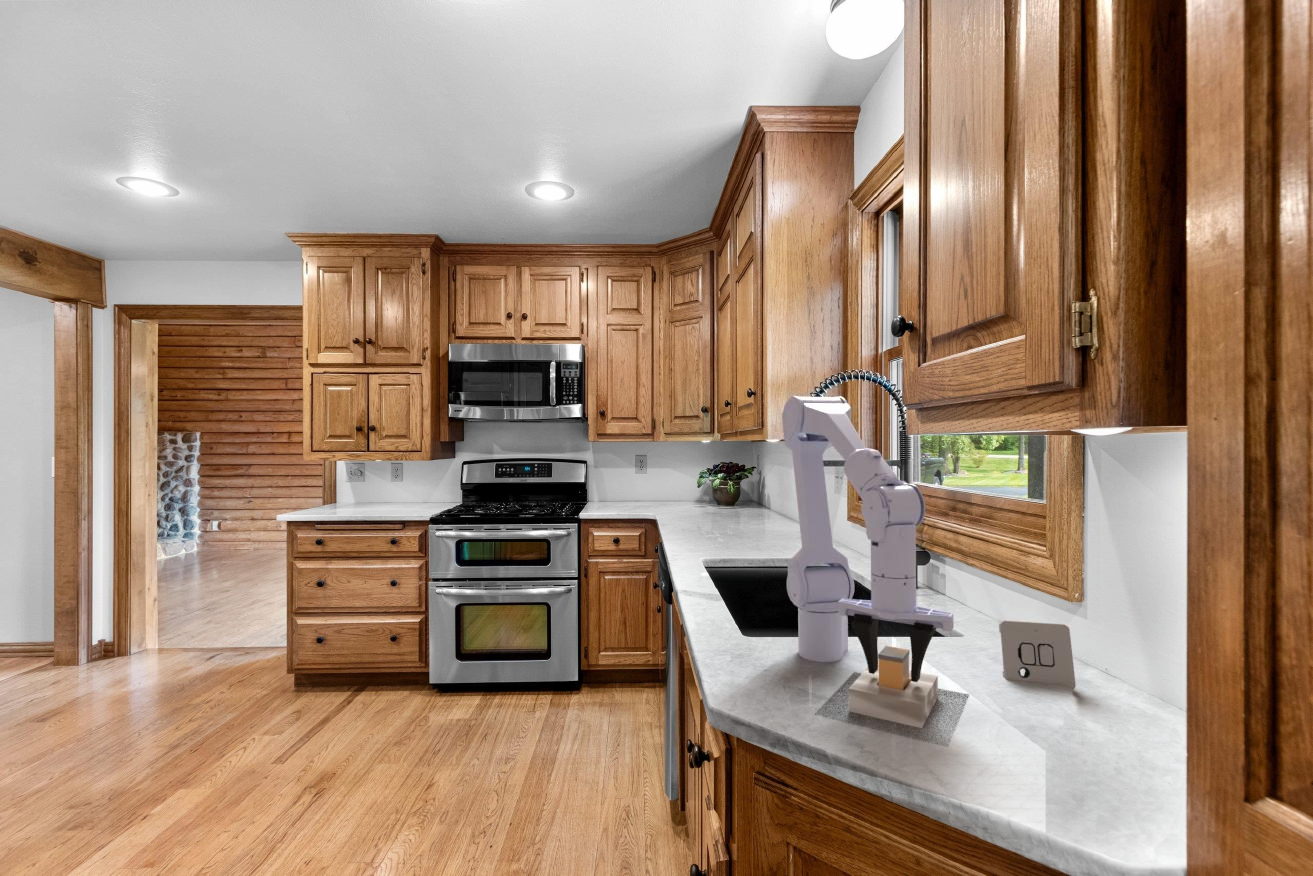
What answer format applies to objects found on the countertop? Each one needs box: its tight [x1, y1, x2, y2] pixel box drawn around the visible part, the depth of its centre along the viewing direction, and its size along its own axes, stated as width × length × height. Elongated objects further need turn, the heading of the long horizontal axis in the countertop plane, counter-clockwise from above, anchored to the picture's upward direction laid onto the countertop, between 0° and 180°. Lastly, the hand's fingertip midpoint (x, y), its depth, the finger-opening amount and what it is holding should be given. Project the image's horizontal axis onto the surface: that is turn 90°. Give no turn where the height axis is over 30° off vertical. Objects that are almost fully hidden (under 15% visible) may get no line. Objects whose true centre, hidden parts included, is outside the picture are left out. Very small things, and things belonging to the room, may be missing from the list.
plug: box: [878, 645, 910, 691], centre depth 84 cm, size 4×3×7 cm
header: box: [815, 664, 970, 748], centre depth 84 cm, size 18×16×4 cm
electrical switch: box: [998, 620, 1077, 690], centre depth 95 cm, size 9×5×9 cm, turn 74°
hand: (894, 675), depth 84 cm, fingers open, 5 cm apart
